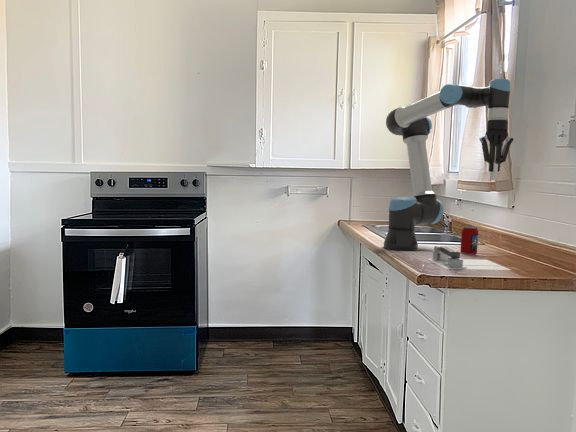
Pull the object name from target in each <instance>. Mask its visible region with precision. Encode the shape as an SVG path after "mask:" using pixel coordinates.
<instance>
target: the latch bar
mask: <svg viewBox="0 0 576 432" xmlns="http://www.w3.org/2000/svg"><path fill="white" fill-rule="evenodd" d="M440 247H441V250H440V252H442V253H444V254H446V255H448V256H449V257H450V258H461V252H460V251H459V250H454V249H451V248H449V247H447V246H440Z"/></svg>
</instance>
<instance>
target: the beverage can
mask: <svg viewBox="0 0 576 432" xmlns="http://www.w3.org/2000/svg"><path fill="white" fill-rule="evenodd" d="M478 241H479V229H478V227H477V226H472V225H471V226H470V225H465V226H463V228H462V229H461V237H460V251H459V252H460V253H463V254H471V255H477V254H478Z"/></svg>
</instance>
